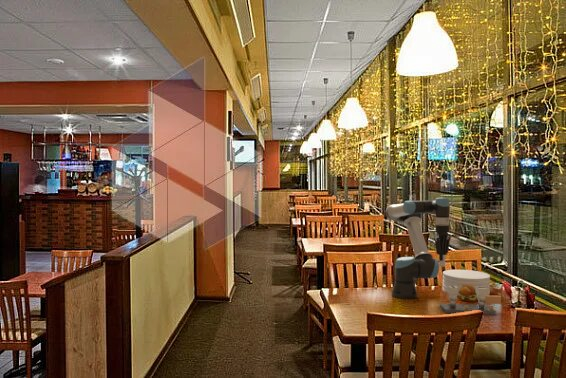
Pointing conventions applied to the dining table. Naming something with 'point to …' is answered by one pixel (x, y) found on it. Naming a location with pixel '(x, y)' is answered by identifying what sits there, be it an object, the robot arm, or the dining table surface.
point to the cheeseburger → (467, 293)
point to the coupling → (452, 293)
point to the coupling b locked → (487, 296)
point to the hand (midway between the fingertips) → (442, 266)
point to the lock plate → (467, 307)
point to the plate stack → (465, 279)
